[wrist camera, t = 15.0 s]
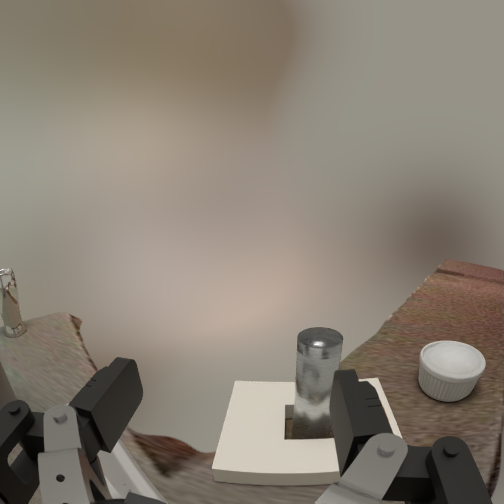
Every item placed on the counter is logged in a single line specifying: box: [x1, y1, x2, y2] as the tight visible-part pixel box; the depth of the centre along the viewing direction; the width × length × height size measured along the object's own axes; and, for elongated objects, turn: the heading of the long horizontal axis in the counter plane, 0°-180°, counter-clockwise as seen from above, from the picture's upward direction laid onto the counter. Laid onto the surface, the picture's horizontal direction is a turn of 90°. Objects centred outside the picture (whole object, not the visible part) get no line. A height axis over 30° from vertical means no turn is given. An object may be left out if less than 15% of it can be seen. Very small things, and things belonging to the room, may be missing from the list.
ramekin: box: [418, 341, 485, 402], centre depth 34 cm, size 11×11×5 cm
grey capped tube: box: [292, 327, 343, 440], centre depth 29 cm, size 4×4×14 cm
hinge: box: [66, 403, 169, 504], centre depth 20 cm, size 17×5×10 cm, turn 43°
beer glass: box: [0, 268, 26, 337], centre depth 50 cm, size 7×7×15 cm
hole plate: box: [212, 378, 402, 486], centre depth 30 cm, size 20×16×3 cm
